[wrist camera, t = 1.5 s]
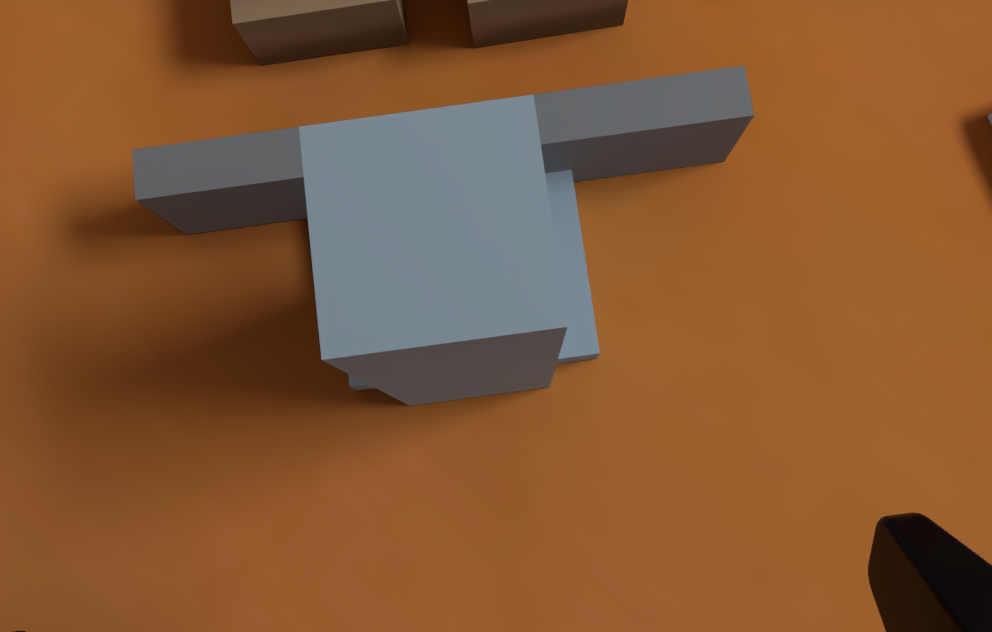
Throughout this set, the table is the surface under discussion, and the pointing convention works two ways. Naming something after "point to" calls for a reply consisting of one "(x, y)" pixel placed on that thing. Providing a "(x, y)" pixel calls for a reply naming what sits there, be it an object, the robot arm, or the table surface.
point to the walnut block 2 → (539, 18)
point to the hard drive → (990, 118)
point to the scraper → (449, 220)
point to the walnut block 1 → (317, 27)
